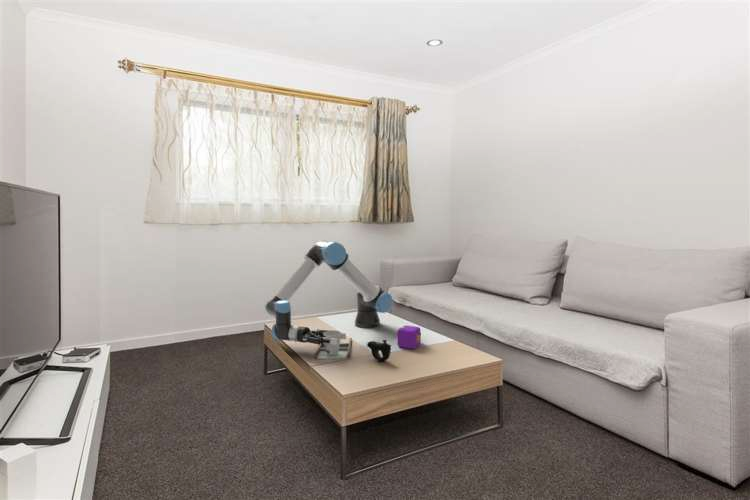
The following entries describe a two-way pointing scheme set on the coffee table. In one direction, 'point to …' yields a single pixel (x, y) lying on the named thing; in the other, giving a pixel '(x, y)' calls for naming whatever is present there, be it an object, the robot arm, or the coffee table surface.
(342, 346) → the tray
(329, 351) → the cup
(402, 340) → the toy camera
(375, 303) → the robot arm
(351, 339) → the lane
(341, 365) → the coffee table surface
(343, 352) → the pad
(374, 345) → the controller
